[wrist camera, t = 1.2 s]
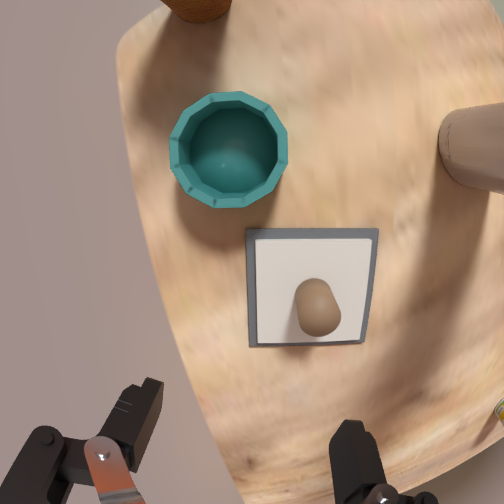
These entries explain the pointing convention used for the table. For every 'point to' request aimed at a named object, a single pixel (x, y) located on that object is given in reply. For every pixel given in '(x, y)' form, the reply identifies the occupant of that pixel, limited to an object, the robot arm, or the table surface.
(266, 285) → the lid
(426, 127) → the table surface
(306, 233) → the mat
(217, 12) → the disposable coffee cup
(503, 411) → the supplement bottle
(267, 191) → the bowl
